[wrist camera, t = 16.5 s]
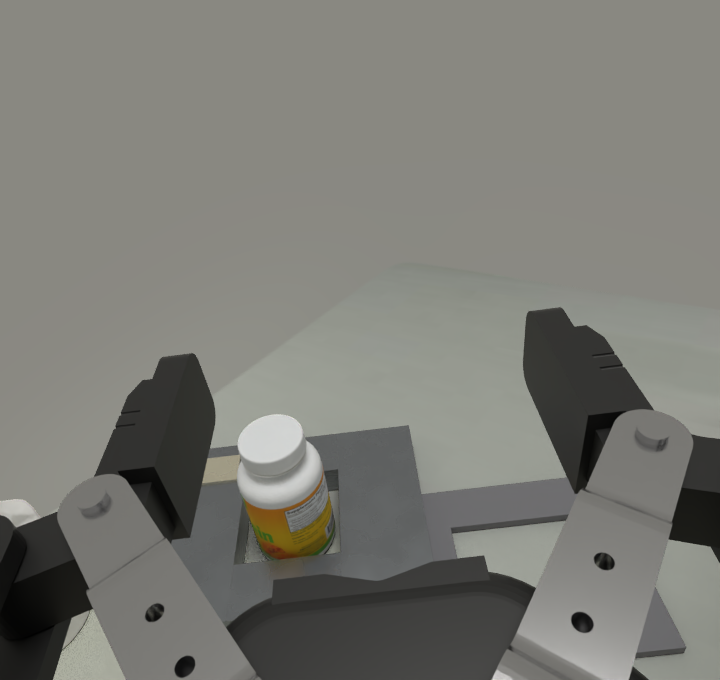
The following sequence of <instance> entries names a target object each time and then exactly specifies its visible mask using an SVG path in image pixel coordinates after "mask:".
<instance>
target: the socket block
mask: <svg viewBox="0 0 720 680" xmlns="http://www.w3.org/2000/svg"><path fill="white" fill-rule="evenodd" d="M305 439H306V441H308V442H309V443H311V444H312V445H313V446H314V447H315V449H316V450H317V452H318V453H319V456H320V458H321V461H322V465H323V469H324V474H325V479H326V484H327V488H328V491H330V490H339V511H340V543H341V553H333V554H324V555H315V556H306V557H297V558H289V559H280V560H271V561H262V562H254V563H245V564H244V560H245V552H246V544H247V536H248V527H249V519H250V518H249V515H248V513H247V510H246V507H245V504H244V502H243V499H242V496H241V493H240V490H239V487H238V483H237V471H238V467H239V465H240V462H241V457H240V454H239V451H238V446H229V447H221V448H212V449H209V454H208V458H207V463H206V468H205V472H204V477H203V481H202V486H201V490H200V495H199V500H198V504H197V509H196V513H195V518H194V522H193V527H192V532H191V536H190V538H183V539H175V540H172V543H171V545H172V547H173V548H174V550H175V551H176V553H177V554H178V556H179V557H180V559H181V561H182V562H183V564H184V565H185V567H186V568H187V570H188V571H189V573H190V574H191V576H192V577H193V579H194V580H195V582H196V583H197V585H198V586H199V588H200V589H201V591H202V592H203V594H204V595H205V597H206V598H207V600H208V601H209V603H210V604H211V606H212V607H213V609H214V610H215V612H216V613H217V615H218V616H219V618H220V619H221V621H222V622H223V624H224V625H225V627H227V626H228V625H229V624H230V623H231V622H232V621H233V620H234V619H236V618H237V617H238V616H239V615H240V614H242V613H243V612H245V611H246V610H248V609H249V608H251V607H252V606H254V605H256V604H258V603H260V602H262V601H264V600H266V599H268V598H271V597H272V590H273V580H277V579H285V578H294V577H303V576H311V575H320V574H329V575H336V576H343V577H351V578H358V579H365V580H373V581H380V580H384V579H387V578H390V577H392V576H395V575H398V574H400V573H403V572H406V571H408V570H411V569H414V568H416V567H419V566H421V565H424V564H427V563H429V562H433V558H432V552H431V546H430V541H429V535H428V530H427V524H426V519H425V513H424V508H423V502H422V496H421V491H420V485H419V480H418V474H417V469H416V463H415V458H414V452H413V446H412V441H411V435H410V430H409V425H408V426H399V427H391V428H382V429H374V430H365V431H357V432H348V433H340V434H331V435H323V436H314V437H306V438H305Z"/></svg>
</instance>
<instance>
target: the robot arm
mask: <svg viewBox="0 0 720 680" xmlns="http://www.w3.org/2000/svg"><path fill="white" fill-rule="evenodd" d="M523 370H524V377H525V381H526V385H527V387H528V390H529V392H530V394H531V397H532V399H533V401H534V403H535V406H536V408H537V410H538V412H539V415H540V417H541V419H542V421H543V424H544V426H545V428H546V430H547V433H548V435H549V437H550V439H551V442H552V444H553V446H554V448H555V451H556V453H557V455H558V457H559V460H560V462H561V464H562V467H563V469H564V471H565V473H566V476H567V478H568V480H569V482H570V485H571V487H572V489H573V491H574V494H578V495H577V497H576V499H575V501H574V504H573V506H572V508H571V510H570V513H569V515H568V517H567V519H566V522H565V524H564V526H563V528H562V531H561V533H560V535H559V538H558V540H557V542H556V544H555V547H554V549H553V551H552V553H551V556H550V558H549V560H548V562H547V565H546V567H545V569H544V572H543V574H542V576H541V578H540V581H539V583H538V585H537V587H536V588H535V587H533V586H531V585H529V584H527V583H525V582H523V581H520V580H518V579H515V578H512V577H510V576H506V575H502V574H498V573H492V572H488V569H487V565H486V561H485V557H484V556H476V557H468V558H459V559H450V560H441V561H433V562H429V563H427V564H424V565H421V566H419V567H416V568H414V569H411V570H408V571H406V572H403V573H400V574H398V575H395V576H392V577H390V578H387V579H384V580H380V581H373V580H365V579H358V578H351V577H343V576H336V575H329V574H320V575H311V576H303V577H294V578H285V579H277V580H273V590H272V597H271V598H268V599H266V600H264V601H262V602H260V603H258V604H256V605H254V606H252V607H251V608H249V609H248V610H246V611H245V612H243V613H242V614H240V615H239V616H238V617H237V618H236V619H234V620H233V621H232V622H231V623H230V624H229V625H228V626H227V627H225V625H224V624H223V622H222V621H221V619H220V618H219V616H218V615H217V613H216V612H215V610H214V609H213V607H212V606H211V604H210V603H209V601H208V600H207V598H206V597H205V595H204V594H203V592H202V591H201V589H200V588H199V586H198V585H197V583H196V582H195V580H194V579H193V577H192V576H191V574H190V573H189V571H188V570H187V568H186V567H185V565H184V564H183V562H182V561H181V559H180V557H179V556H178V554H177V553H176V551H175V550H174V548H173V547H172V545H171V543H172V540H175V539H183V538H190V536H191V532H192V527H193V522H194V518H195V513H196V509H197V504H198V500H199V495H200V490H201V486H202V481H203V477H204V472H205V468H206V463H207V458H208V454H209V449H210V445H211V440H212V436H213V431H214V426H215V407H214V402H213V399H212V396H211V393H210V390H209V388H208V385H207V383H206V380H205V377H204V375H203V372H202V369H201V366H200V364H199V361H198V359H197V357H196V355H195V354H193V353H191V354H183V355H175V356H168V357H162V358H161V359H160V361H159V363H158V366H157V368H156V371H155V374H154V376H153V379H150V380H143V381H142V382H141V383H140V384H139V385H138V386H137V387H136V388H135V389H134V390H133V391H132V392H131V393H130V394H129V395H128V397H127V399H126V402H125V404H124V407H123V409H122V412H121V416H119V419H118V421H117V423H116V429H114V430H113V433H112V435H111V438H110V440H109V442H108V445H107V448H106V450H105V452H104V455H103V457H102V459H101V462H100V464H99V467H98V469H97V471H96V474H95V476H94V477H93V478H90V479H88V480H86V481H84V482H82V483H81V484H79V485H78V486H77V487H75V488H74V489H73V490H72V491H71V492H70V493H69V494H67V496H66V497H65V498H64V500H63V501H62V503H61V504H60V507H59V509H58V512H55V513H53V514H51V515H48V516H45V517H43V518H40V519H37V520H35V521H32V522H29V523H27V524H24V525H22V526H19V527H15V526H14V524H13V523H12V522H11V521H10V520H9V519H8V518H7V517H5V516H2V515H0V680H53V677H54V674H55V671H56V668H57V664H58V661H59V658H60V655H61V651H62V648H63V645H64V641H65V638H66V635H67V632H68V628H69V625H70V622H71V619H72V618H73V617H75V616H77V615H80V614H82V613H84V612H87V611H89V610H91V609H94V612H95V614H96V616H97V618H98V620H99V622H100V624H101V627H102V629H103V631H104V633H105V635H106V637H107V640H108V642H109V644H110V646H111V648H112V650H113V653H114V655H115V657H116V659H117V661H118V663H119V666H120V668H121V670H122V672H123V674H124V676H125V678H126V680H648V679H647V678H646V677H645V676H644V675H643V674H641V673H640V672H639V671H638V670H637V669H635V668H634V667H633V663H634V660H635V656H636V652H637V649H638V645H639V642H640V638H641V635H642V631H643V628H644V624H645V620H646V617H647V613H648V610H649V606H650V603H651V599H652V596H653V592H654V588H655V585H656V581H657V578H658V574H659V571H660V567H661V564H662V560H663V556H664V553H665V549H666V546H667V542H668V539H670V540H675V541H681V542H687V543H693V544H699V545H705V546H710V547H711V548H712V550H713V552H714V554H715V555H716V557H717V559H718V561H719V563H720V439H715V438H707V437H701V436H696V435H692V434H691V433H690V432H689V430H688V429H687V428H686V427H685V426H684V425H683V424H682V423H681V422H680V421H678V420H677V419H675V418H673V417H671V416H669V415H667V414H664V413H662V412H658V411H654V409H653V408H652V406H651V405H650V404H649V402H648V401H647V399H646V398H645V396H644V395H643V393H642V392H641V390H640V389H639V387H638V386H637V385H636V383H635V382H634V380H633V379H632V377H631V376H630V374H629V373H628V371H627V370H626V368H625V367H623V364H622V363H621V361H620V360H619V358H618V357H617V355H615V354H614V351H613V349H612V348H611V347H610V345H609V344H608V342H607V341H606V339H605V338H604V337H603V336H602V335H600V334H599V333H597V332H596V331H594V330H593V329H591V328H590V327H588V326H587V325H585V326H577V327H574V326H573V324H572V323H571V321H570V319H569V318H568V316H567V315H566V313H565V311H564V310H563V309H562V308H560V307H559V308H551V309H544V310H536V311H529V312H528V313H527V317H526V327H525V342H524V356H523Z"/></svg>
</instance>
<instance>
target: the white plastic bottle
mask: <svg viewBox="0 0 720 680" xmlns="http://www.w3.org/2000/svg"><path fill="white" fill-rule="evenodd" d="M0 515H2V516H5V517H7V518H8V519H9V520H10V521H11V522H12V523H13V524H14V526H15V527H19V526H22V525H24V524H27V523H29V522H32V521H35V520H37V519H40V518H41V517H40V516H39V515H38V514H37V512H36V511H35V509H34V508H33V507H32V506H31V505H30V504H29V503H28V502H27V501H25V500H22V499H19V500H17V499H13V500H5V501H0ZM88 614H89V611H87V612H84V613H82V614H80V615H77V616H75V617H73V618H72V619H71V622H70V625H69V628H68V632H67V635H66V638H65V641H64V645H63V648H62V649H64V648H65V647H66V646H67V645H68V644H69V643H70V642H71V641H72V640H73V639H74V637H75V636H76V635H77V634H78V632H79V631H80V630H81V628H82V626H83V625H84V623H85V621H86V619H87V617H88Z"/></svg>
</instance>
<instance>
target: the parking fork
mask: <svg viewBox="0 0 720 680" xmlns="http://www.w3.org/2000/svg"><path fill="white" fill-rule="evenodd" d="M577 495H578V494H574V491H573V489H572V487H571V485H570V482H569V480H568V478H559V479H550V480H542V481H533V482H524V483H516V484H507V485H498V486H490V487H481V488H472V489H464V490H455V491H446V492H438V493H429V494H421V496H422V502H423V508H424V513H425V519H426V524H427V530H428V535H429V541H430V546H431V552H432V558H433V561H441V560H450V559H457V555H456V550H455V546H454V541H453V537H452V533H456V532H465V531H474V530H483V529H491V528H500V527H509V526H518V525H526V524H535V523H544V522H553V521H561V520H566V519H567V517H568V515H569V513H570V510H571V508H572V506H573V504H574V501H575V499H576V497H577ZM685 649H686V646H685V644H684V642H683V640H682V638H681V636H680V634H679V632H678V630H677V628H676V626H675V624H674V622H673V620H672V619H671V617H670V615H669V613H668V611H667V609H666V607H665V605H664V603H663V601H662V599H661V597H660V595H659V593H658V591H657V589H656V588H654V592H653V596H652V599H651V603H650V606H649V610H648V613H647V617H646V620H645V624H644V628H643V631H642V635H641V638H640V642H639V645H638V649H637V652H636V656H635V658H640V657H649V656H658V655H667V654H677V653H684V651H685Z"/></svg>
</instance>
